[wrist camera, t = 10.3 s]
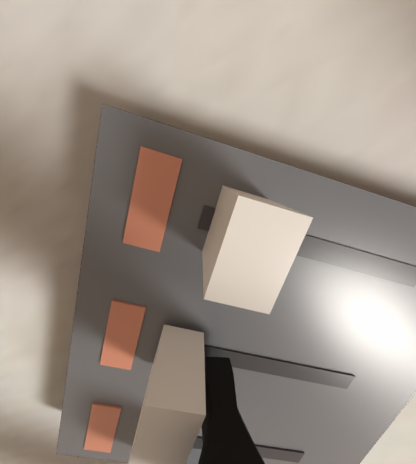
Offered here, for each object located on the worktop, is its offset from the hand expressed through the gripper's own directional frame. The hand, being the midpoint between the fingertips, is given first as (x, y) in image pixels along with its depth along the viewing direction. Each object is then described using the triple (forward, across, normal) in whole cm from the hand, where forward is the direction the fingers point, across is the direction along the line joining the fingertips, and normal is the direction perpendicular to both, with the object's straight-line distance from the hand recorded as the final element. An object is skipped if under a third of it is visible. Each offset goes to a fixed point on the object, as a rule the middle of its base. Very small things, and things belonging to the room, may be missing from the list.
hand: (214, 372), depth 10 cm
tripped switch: (+1, +2, 0) cm, 2 cm away
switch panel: (+3, -3, 0) cm, 4 cm away
